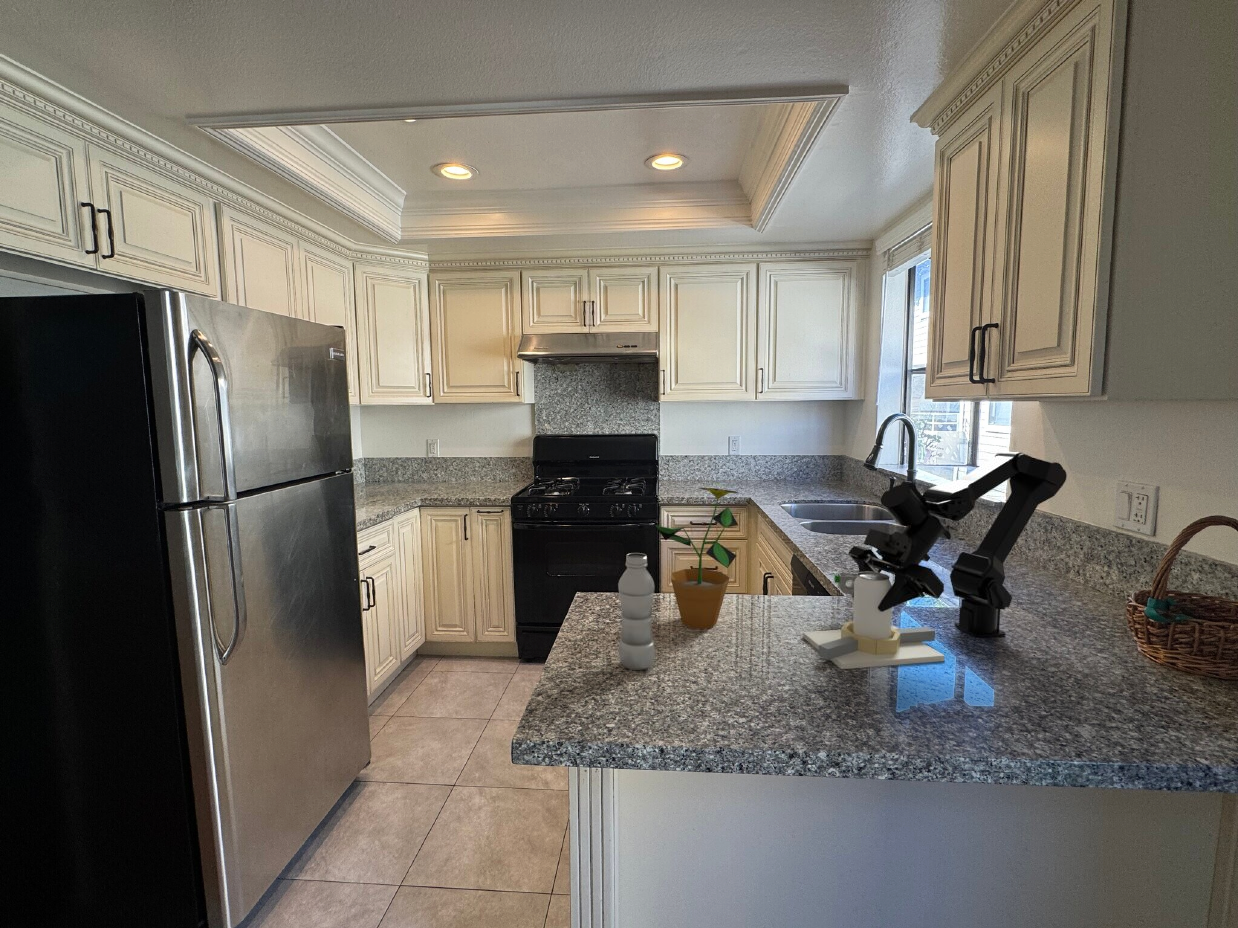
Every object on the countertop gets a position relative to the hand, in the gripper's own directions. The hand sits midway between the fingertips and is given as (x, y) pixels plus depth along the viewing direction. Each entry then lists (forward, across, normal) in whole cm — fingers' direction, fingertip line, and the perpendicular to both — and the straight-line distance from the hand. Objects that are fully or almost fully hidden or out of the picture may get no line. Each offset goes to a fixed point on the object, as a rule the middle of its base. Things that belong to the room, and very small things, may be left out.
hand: (866, 604), depth 103 cm
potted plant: (+23, -22, -11) cm, 34 cm away
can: (+4, 0, +6) cm, 7 cm away
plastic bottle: (+37, -7, -25) cm, 45 cm away
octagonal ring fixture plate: (+5, 0, +7) cm, 9 cm away
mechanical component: (0, -12, +13) cm, 18 cm away
